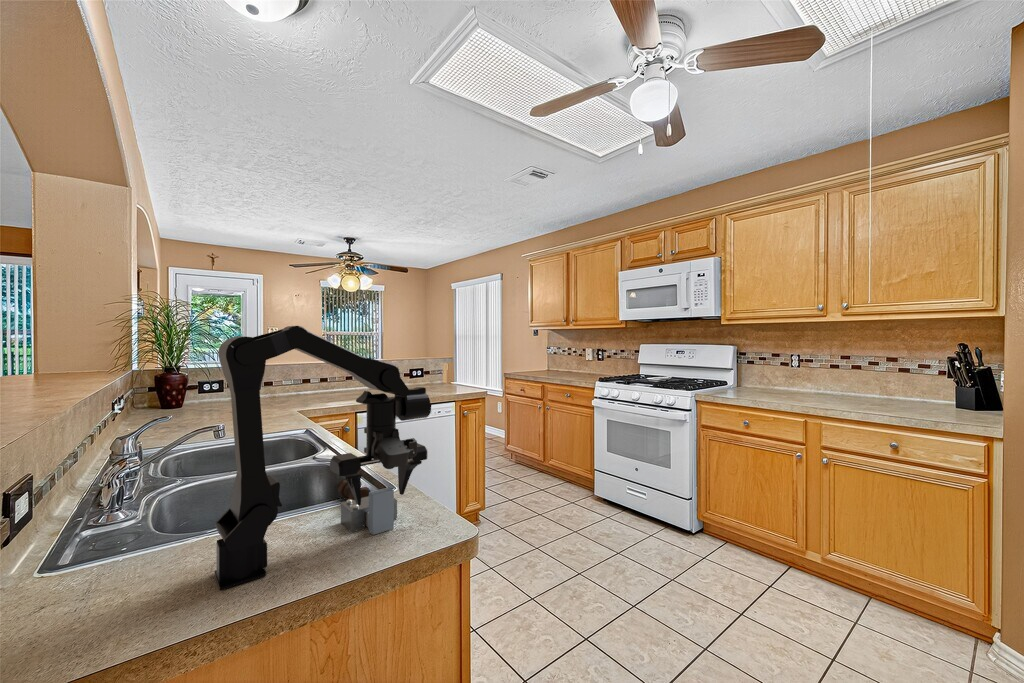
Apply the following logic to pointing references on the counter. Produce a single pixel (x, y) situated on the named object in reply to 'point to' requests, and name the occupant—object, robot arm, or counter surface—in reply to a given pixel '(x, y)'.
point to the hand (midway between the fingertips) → (380, 499)
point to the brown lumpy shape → (346, 491)
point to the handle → (380, 511)
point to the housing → (357, 513)
